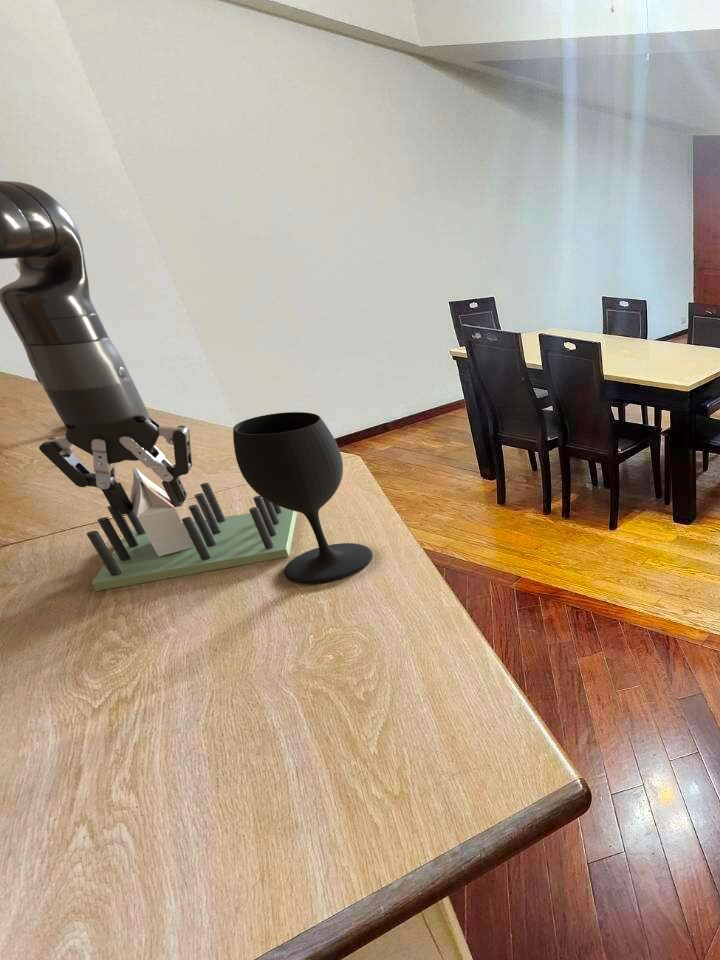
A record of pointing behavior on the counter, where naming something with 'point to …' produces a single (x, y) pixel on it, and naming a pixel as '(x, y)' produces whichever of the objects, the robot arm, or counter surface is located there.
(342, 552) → the wine glass
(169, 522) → the white milk carton
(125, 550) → the rack
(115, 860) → the counter surface
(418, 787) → the counter surface
